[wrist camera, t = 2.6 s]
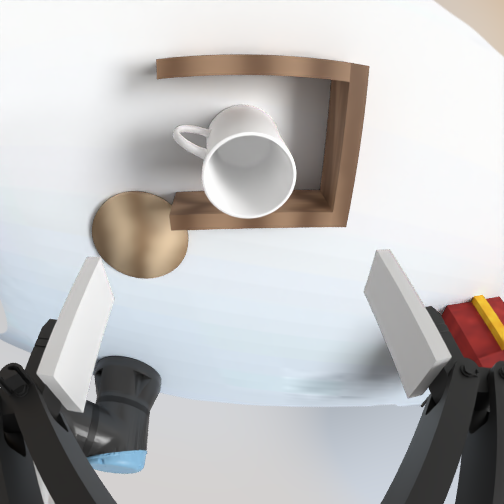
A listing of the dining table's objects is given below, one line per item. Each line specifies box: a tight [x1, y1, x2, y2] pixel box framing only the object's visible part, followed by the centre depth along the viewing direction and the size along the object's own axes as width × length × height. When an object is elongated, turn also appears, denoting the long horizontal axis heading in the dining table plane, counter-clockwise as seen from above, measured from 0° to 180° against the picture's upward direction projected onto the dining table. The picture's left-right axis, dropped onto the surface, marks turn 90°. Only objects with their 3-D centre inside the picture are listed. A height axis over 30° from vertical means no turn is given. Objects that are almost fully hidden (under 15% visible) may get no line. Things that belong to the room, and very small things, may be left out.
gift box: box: [441, 295, 504, 368], centre depth 56 cm, size 25×25×20 cm
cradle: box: [156, 55, 369, 231], centre depth 33 cm, size 20×19×6 cm
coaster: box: [92, 191, 188, 278], centre depth 42 cm, size 14×14×1 cm
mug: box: [173, 105, 296, 219], centre depth 31 cm, size 12×8×12 cm
